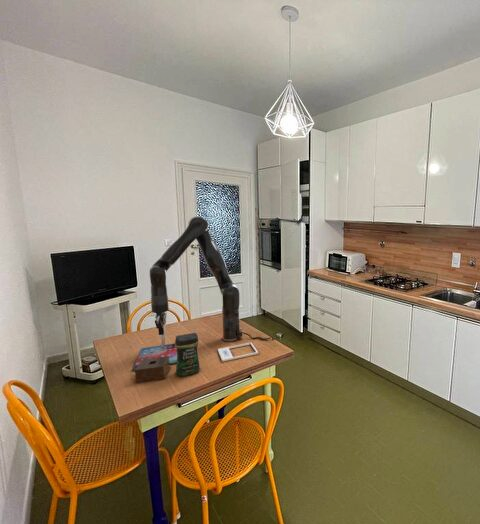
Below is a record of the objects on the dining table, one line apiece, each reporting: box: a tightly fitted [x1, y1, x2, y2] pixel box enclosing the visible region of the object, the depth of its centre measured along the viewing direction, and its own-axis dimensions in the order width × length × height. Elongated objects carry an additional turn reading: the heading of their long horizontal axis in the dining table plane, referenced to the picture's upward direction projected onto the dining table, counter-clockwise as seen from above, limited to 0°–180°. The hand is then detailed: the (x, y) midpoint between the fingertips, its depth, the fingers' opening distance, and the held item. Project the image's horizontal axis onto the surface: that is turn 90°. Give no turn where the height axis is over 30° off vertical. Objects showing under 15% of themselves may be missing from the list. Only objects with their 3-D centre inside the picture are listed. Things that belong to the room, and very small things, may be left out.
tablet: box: [132, 342, 177, 372], centre depth 152 cm, size 19×25×1 cm
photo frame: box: [217, 342, 259, 363], centre depth 158 cm, size 15×1×18 cm
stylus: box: [160, 324, 166, 350], centre depth 156 cm, size 2×2×14 cm
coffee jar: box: [174, 332, 201, 377], centre depth 136 cm, size 10×8×19 cm
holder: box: [134, 356, 171, 384], centre depth 134 cm, size 11×11×6 cm
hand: (161, 333), depth 156 cm, fingers closed on stylus, 1 cm apart
